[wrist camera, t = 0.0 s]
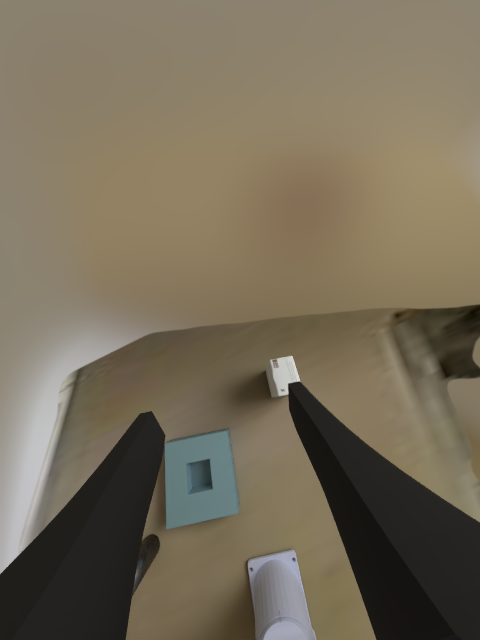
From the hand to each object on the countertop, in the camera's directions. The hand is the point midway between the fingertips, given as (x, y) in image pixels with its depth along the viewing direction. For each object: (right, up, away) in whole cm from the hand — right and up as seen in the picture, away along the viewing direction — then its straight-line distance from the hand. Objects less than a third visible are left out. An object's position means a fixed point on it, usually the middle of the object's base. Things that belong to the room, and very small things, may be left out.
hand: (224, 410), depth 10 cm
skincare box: (+9, -9, +31) cm, 34 cm away
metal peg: (-14, -34, +21) cm, 43 cm away
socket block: (-6, -24, +25) cm, 35 cm away
